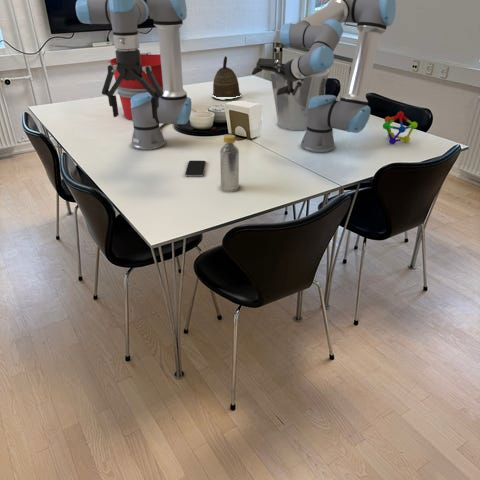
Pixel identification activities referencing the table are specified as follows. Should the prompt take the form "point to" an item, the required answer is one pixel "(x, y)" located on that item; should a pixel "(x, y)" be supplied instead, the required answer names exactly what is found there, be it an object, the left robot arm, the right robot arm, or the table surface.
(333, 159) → the table surface
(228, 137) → the cap
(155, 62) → the bucket
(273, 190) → the table surface
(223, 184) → the bottle
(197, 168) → the smartphone
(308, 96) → the bucket
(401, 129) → the educational toy
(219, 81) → the bell
